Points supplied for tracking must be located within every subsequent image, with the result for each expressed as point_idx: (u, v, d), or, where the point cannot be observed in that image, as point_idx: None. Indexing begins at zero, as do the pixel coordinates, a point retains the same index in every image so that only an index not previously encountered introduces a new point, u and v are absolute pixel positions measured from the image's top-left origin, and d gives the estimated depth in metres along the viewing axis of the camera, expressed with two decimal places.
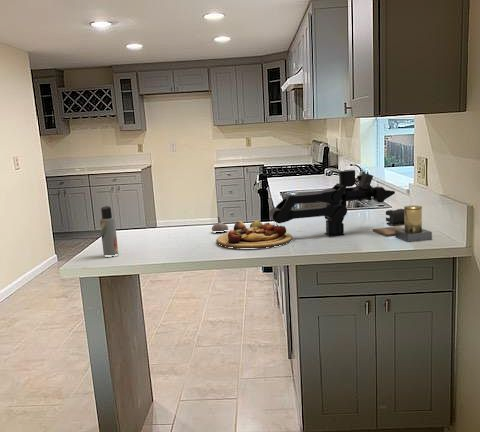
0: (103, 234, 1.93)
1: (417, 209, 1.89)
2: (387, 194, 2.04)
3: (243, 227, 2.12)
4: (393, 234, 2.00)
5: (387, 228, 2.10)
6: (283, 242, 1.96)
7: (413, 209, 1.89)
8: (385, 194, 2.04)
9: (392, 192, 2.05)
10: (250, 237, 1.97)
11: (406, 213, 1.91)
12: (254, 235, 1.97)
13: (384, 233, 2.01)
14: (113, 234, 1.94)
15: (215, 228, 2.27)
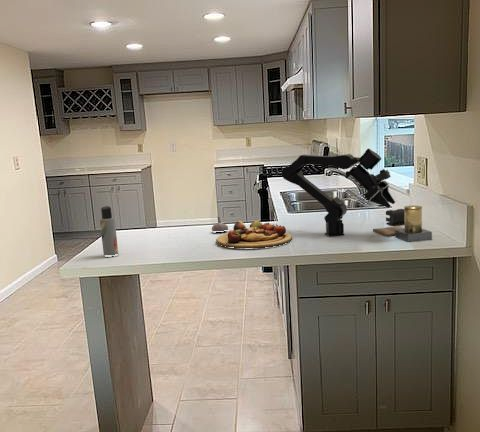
0: (103, 234, 1.93)
1: (417, 209, 1.89)
2: (381, 201, 1.92)
3: (243, 227, 2.12)
4: (393, 234, 2.00)
5: (387, 228, 2.10)
6: (283, 242, 1.96)
7: (413, 209, 1.89)
8: (379, 199, 1.92)
9: (387, 204, 1.91)
10: (250, 237, 1.97)
11: (406, 213, 1.91)
12: (254, 235, 1.97)
13: (384, 233, 2.01)
14: (113, 234, 1.94)
15: (215, 228, 2.27)
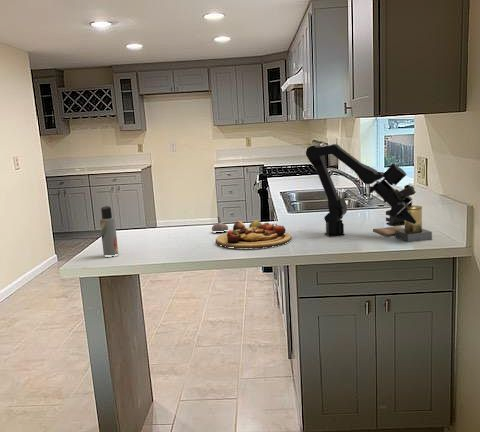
0: (103, 234, 1.93)
1: (417, 209, 1.89)
2: (406, 217, 1.89)
3: (242, 227, 2.12)
4: (393, 234, 2.00)
5: (387, 228, 2.10)
6: (282, 242, 1.96)
7: (413, 209, 1.89)
8: (405, 215, 1.90)
9: (412, 220, 1.89)
10: (249, 237, 1.97)
11: None
12: (253, 235, 1.97)
13: (384, 233, 2.01)
14: (113, 234, 1.94)
15: (215, 228, 2.27)
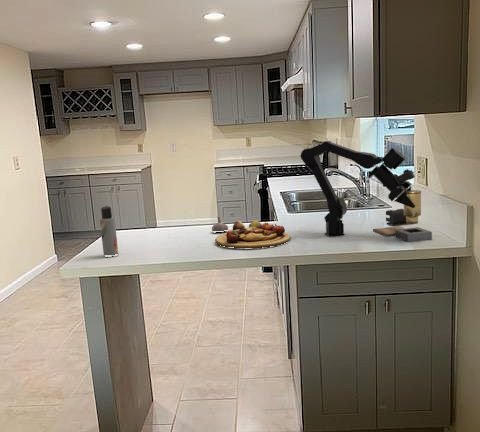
0: (103, 234, 1.93)
1: (416, 193, 1.88)
2: (405, 201, 1.89)
3: (242, 227, 2.13)
4: (393, 234, 2.00)
5: (387, 228, 2.10)
6: (281, 242, 1.97)
7: (412, 193, 1.88)
8: (404, 199, 1.89)
9: (411, 205, 1.88)
10: (248, 237, 1.97)
11: None
12: (252, 235, 1.98)
13: (384, 233, 2.01)
14: (113, 234, 1.94)
15: (215, 228, 2.27)
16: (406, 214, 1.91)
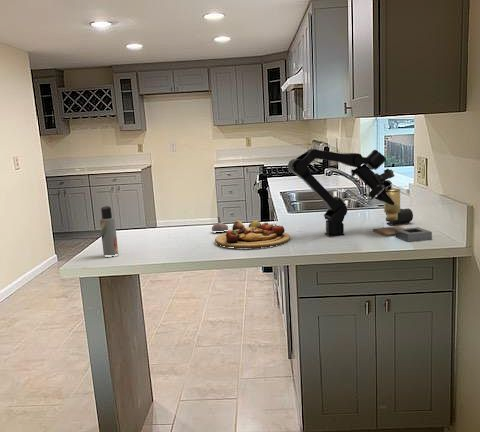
0: (103, 234, 1.93)
1: (395, 191, 2.00)
2: (385, 199, 2.01)
3: (242, 227, 2.13)
4: (393, 234, 2.00)
5: (387, 228, 2.10)
6: (281, 242, 1.97)
7: (392, 191, 2.00)
8: (384, 197, 2.01)
9: (391, 202, 2.00)
10: (248, 237, 1.97)
11: None
12: (252, 235, 1.98)
13: (384, 233, 2.01)
14: (113, 234, 1.94)
15: (215, 228, 2.27)
16: (386, 211, 2.03)
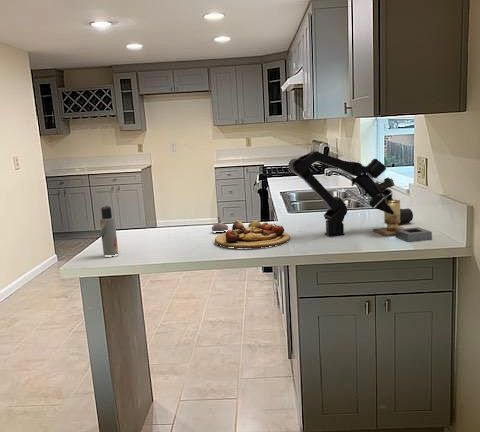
0: (103, 234, 1.93)
1: (395, 202, 2.01)
2: (385, 208, 2.00)
3: (241, 227, 2.13)
4: (393, 234, 2.00)
5: None
6: (280, 242, 1.97)
7: (392, 202, 2.01)
8: (383, 206, 2.00)
9: (391, 211, 2.00)
10: (247, 237, 1.97)
11: None
12: (251, 235, 1.98)
13: (384, 233, 2.01)
14: (113, 234, 1.94)
15: (215, 228, 2.27)
16: (386, 222, 2.04)
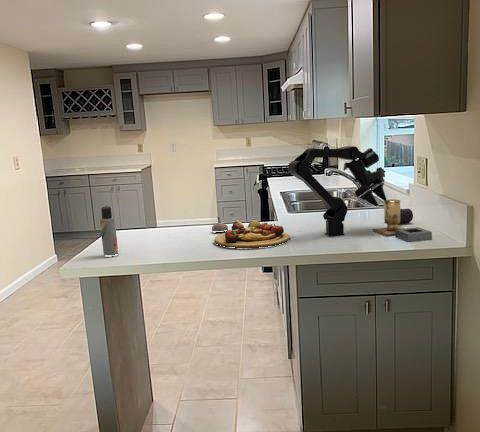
0: (103, 234, 1.93)
1: (395, 203, 2.01)
2: (369, 199, 2.02)
3: (241, 227, 2.13)
4: (393, 234, 2.00)
5: None
6: (280, 242, 1.97)
7: (392, 203, 2.01)
8: (368, 197, 2.02)
9: (375, 203, 2.02)
10: (247, 237, 1.97)
11: (385, 206, 2.03)
12: (251, 235, 1.98)
13: (384, 233, 2.01)
14: (113, 234, 1.94)
15: (215, 228, 2.27)
16: (386, 222, 2.04)
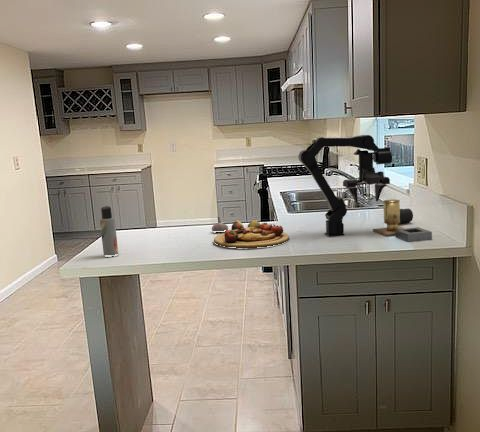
0: (103, 234, 1.93)
1: (395, 202, 2.01)
2: (353, 194, 2.06)
3: (241, 227, 2.13)
4: (393, 234, 2.00)
5: None
6: (279, 242, 1.97)
7: (391, 202, 2.01)
8: (353, 192, 2.06)
9: (355, 200, 2.06)
10: (246, 237, 1.98)
11: (385, 206, 2.04)
12: (250, 235, 1.98)
13: (384, 233, 2.01)
14: (113, 234, 1.94)
15: (215, 228, 2.27)
16: (386, 222, 2.04)
